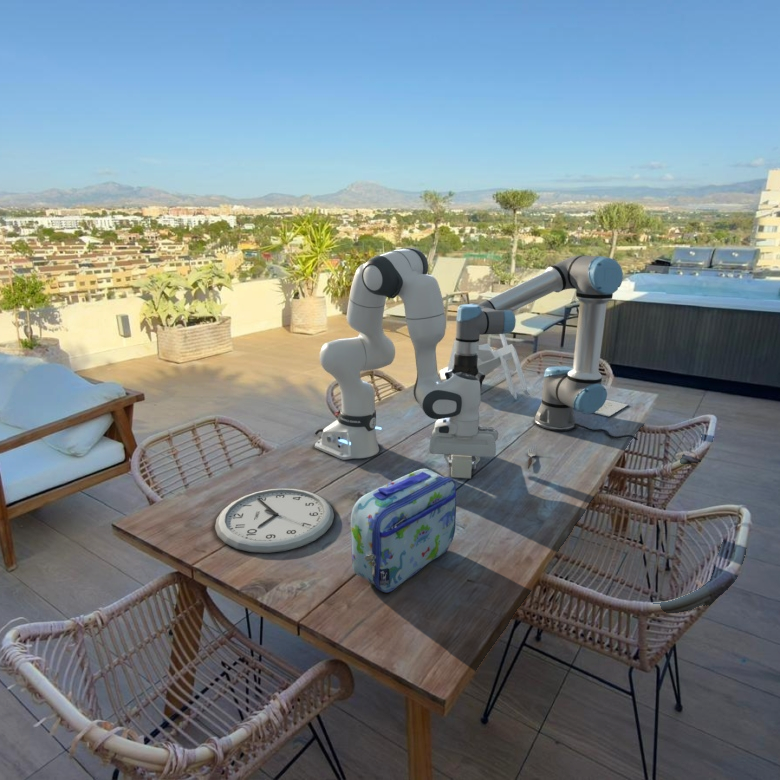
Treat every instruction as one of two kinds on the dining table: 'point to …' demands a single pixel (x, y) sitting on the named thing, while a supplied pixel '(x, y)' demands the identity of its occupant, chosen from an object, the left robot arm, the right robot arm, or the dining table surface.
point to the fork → (531, 456)
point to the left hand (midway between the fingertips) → (461, 467)
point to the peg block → (461, 466)
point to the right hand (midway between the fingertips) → (461, 421)
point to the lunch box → (402, 527)
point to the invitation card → (610, 408)
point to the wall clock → (274, 520)
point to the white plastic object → (494, 363)
